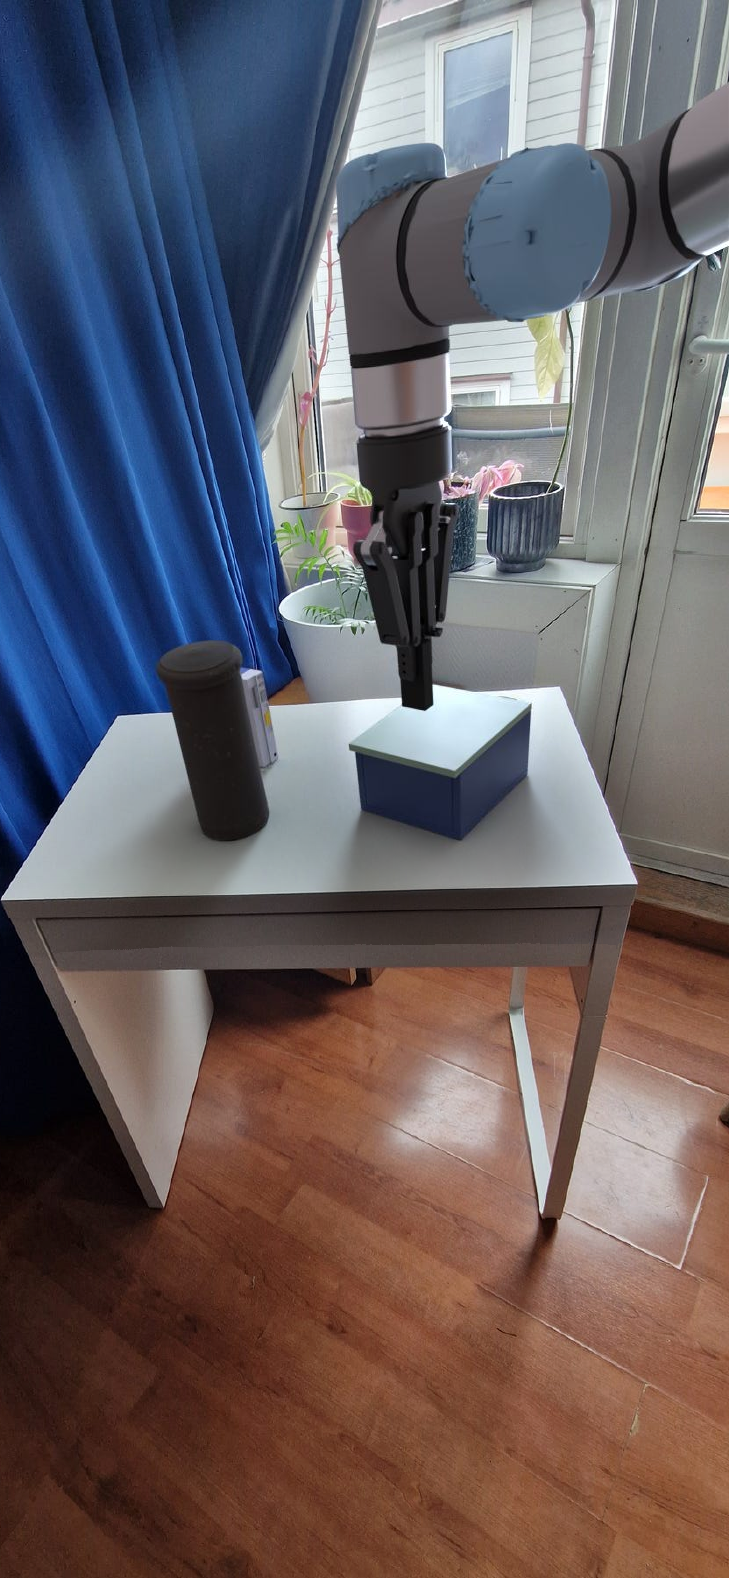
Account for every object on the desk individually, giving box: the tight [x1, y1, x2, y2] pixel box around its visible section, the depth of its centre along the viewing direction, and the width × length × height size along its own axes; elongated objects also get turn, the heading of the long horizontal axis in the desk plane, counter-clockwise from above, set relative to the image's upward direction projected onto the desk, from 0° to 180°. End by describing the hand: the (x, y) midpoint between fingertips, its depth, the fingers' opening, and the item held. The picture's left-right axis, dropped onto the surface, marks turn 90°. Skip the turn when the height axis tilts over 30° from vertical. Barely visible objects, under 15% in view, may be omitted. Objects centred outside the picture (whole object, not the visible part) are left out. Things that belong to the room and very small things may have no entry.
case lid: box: [348, 684, 533, 778], centre depth 80 cm, size 16×13×1 cm
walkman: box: [240, 666, 279, 768], centre depth 94 cm, size 8×3×12 cm, turn 52°
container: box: [156, 639, 270, 841], centre depth 80 cm, size 9×9×20 cm
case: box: [354, 709, 532, 841], centre depth 83 cm, size 15×13×8 cm
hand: (417, 705), depth 74 cm, fingers closed
